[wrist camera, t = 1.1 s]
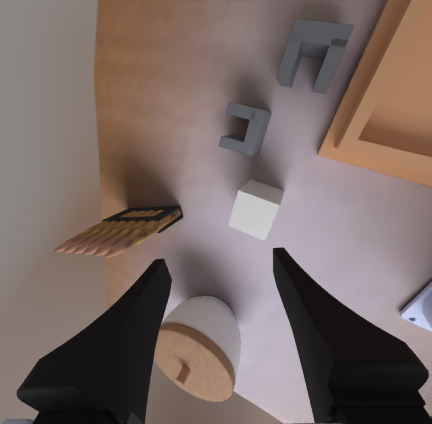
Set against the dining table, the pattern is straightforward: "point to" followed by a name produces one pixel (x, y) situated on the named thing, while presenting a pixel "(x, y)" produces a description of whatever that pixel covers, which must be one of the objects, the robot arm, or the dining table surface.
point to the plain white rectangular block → (255, 208)
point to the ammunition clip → (122, 231)
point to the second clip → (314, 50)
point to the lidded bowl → (200, 348)
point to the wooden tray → (389, 98)
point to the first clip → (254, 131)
